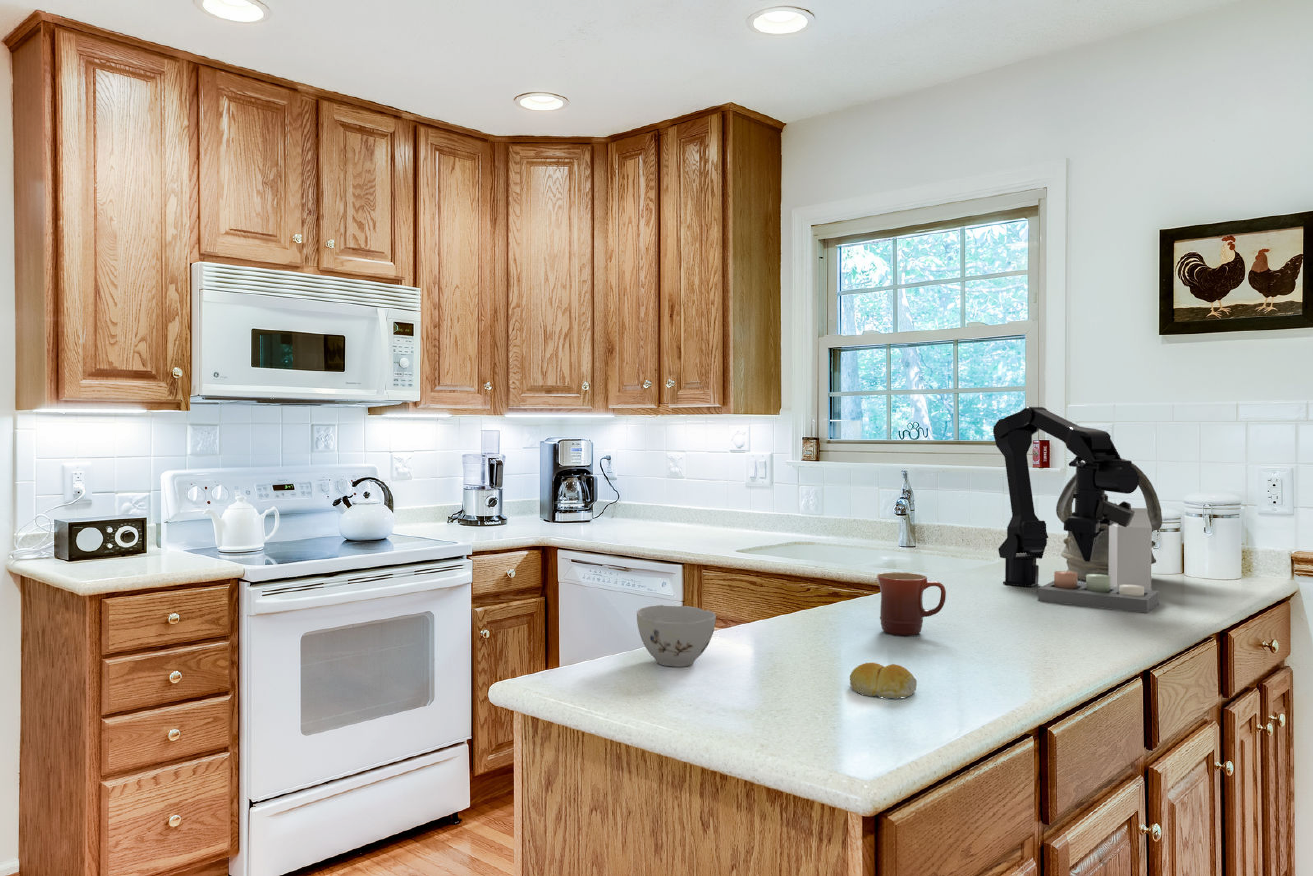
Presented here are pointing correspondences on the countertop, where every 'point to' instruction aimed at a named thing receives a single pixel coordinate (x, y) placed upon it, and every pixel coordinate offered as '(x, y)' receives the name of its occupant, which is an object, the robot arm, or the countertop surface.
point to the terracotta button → (1065, 579)
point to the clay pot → (1101, 550)
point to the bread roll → (882, 680)
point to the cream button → (1131, 590)
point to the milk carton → (1131, 551)
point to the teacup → (675, 633)
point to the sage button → (1098, 582)
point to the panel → (1099, 598)
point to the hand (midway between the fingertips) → (1087, 561)
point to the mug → (905, 602)
